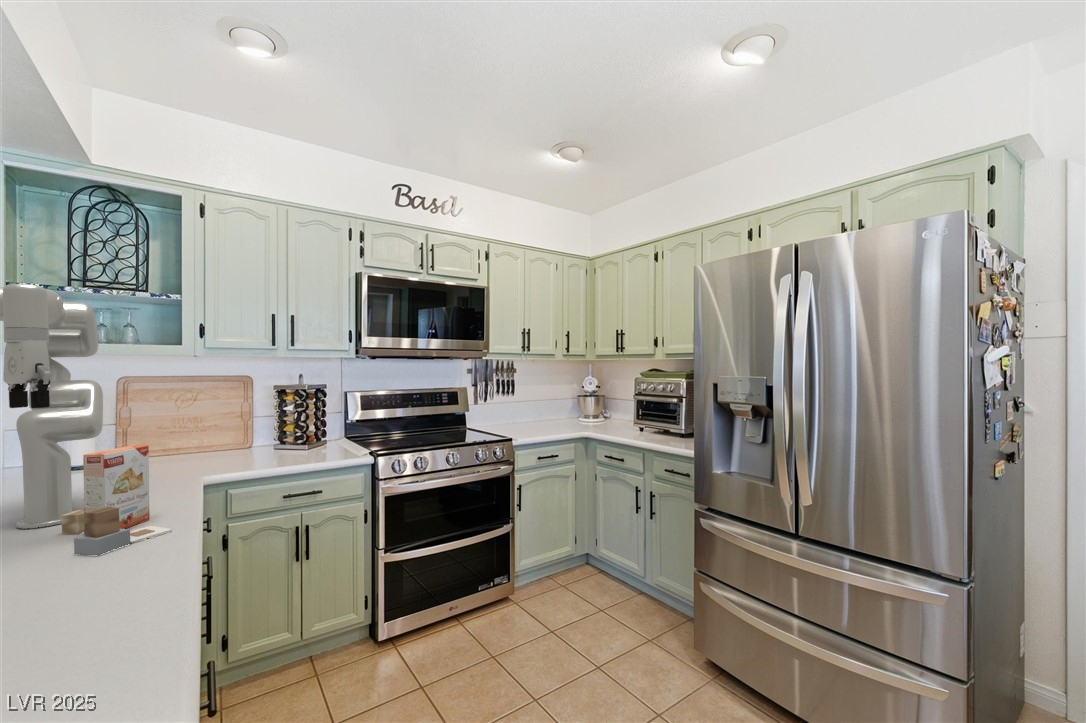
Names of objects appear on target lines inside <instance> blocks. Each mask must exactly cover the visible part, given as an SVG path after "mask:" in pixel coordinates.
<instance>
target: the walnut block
mask: <svg viewBox="0 0 1086 723" xmlns="http://www.w3.org/2000/svg"><path fill="white" fill-rule="evenodd" d="M84 527H85V532H84V535H85V536H87V537H94V538H99V537H102V536H105V535H109V534H112V533H115V532H119V531H120V523H119V508H115V507H103V508H99V509H95V510H91V511H87V512H84Z"/></svg>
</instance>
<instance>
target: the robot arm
mask: <svg viewBox="0 0 1086 723" xmlns="http://www.w3.org/2000/svg"><path fill="white" fill-rule="evenodd" d="M0 322H3V343H5V348H4V355H3V378H2V379H3V382H4V383H5V384H7V385H8V387H7V391H8V407H9V408H10V409H17V408H28V406H29V408H30V409H31V410H27V411H26V412H23V413H22V414H20V415H19V416H18V417H17V419H16V424H15V425H16V431H17V432H16V433H17V435H18V440H19V443H20V449H21V456H22V457H21V460H22V484H23V486H22V487H23V488H22V489H23V512H24V514H23V515H24V516H23V517H24V519H21V520H18V521H17V522H16V528H17V529H20V528H21V529H22V530H23V529H24V530H25V529H26V530H27V529H28V528H29V529H39V528H45V526H46V527H51V526H56V525H60V524H61V525H62V519H61V515H64V514H67V513H70V512H74V511H75V510H73V490H72V489H73V488H72V485H73V484H72V462H71V455H70V453H69V452H68V451H67V450H66V449H65V448H64V447H62V446H61V445H59V444H58V443H60V442H61V443H62V442H68V441H69V442H70V441H83V440H88V439H95V438H96V437H98V436H100V435H101V433H102V430H103V425H104V411H103V410H104V393H103V389H102V386H101V385H100V383H98V382H97V381H95V380H92V379H91V380H90V379H75V380H74V379H73V380H72V379H71V378H72V376H71V375H72V374H71V371H70V370H68V368H66V367H65V366H64V365H63V364H61V363H60V362H59V361H57V360H56V359H53V358H89V357H92V356H94V355H96V354H97V352H98V349H99V339H98V337H99V336H98V332H97V322H96V317H95V313H94V310H93V309H92V307H91V306H90V304H88V303H86V302H82V301H66V300H65V301H64V300H63V298H62V296H60V294H59V293H57V292H56V291H55V290H52V289H47V288H45V287H43V286H40V285H35V284H27V283H26V284H25V283H11V284H7V285H4V286H0ZM28 385H29V388H28V390H27V386H28ZM38 527H39V528H38Z"/></svg>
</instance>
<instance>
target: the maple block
mask: <svg viewBox="0 0 1086 723" xmlns="http://www.w3.org/2000/svg"><path fill="white" fill-rule="evenodd" d="M73 511H74V512H70V513H67V514H64V515H61V519H62V523H61V535H80V533H81V534H83V533H82V532H84V533H85V527H84V509H76V510H73Z"/></svg>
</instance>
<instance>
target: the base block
mask: <svg viewBox="0 0 1086 723" xmlns="http://www.w3.org/2000/svg"><path fill="white" fill-rule="evenodd" d="M130 531H131V529H130V528H126V529H120V531H119V532H115V533H112V534H109V535H105V536H102V537H99V538H94V537H87V536H85V534H84V535H83V534H82V535H80V536H77V537H74V538H73V545H74V546H73V549H74V554H78V555H77V556H87V555H101V554H103V553H106V552H108V551H111V550H113V549H117V548H119V547H122V546H125V545H128V544H130ZM130 545H131V544H130ZM117 550H118V549H117ZM79 554H80V555H79ZM106 554H107V553H106ZM103 555H104V554H103ZM101 556H102V555H101Z"/></svg>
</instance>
